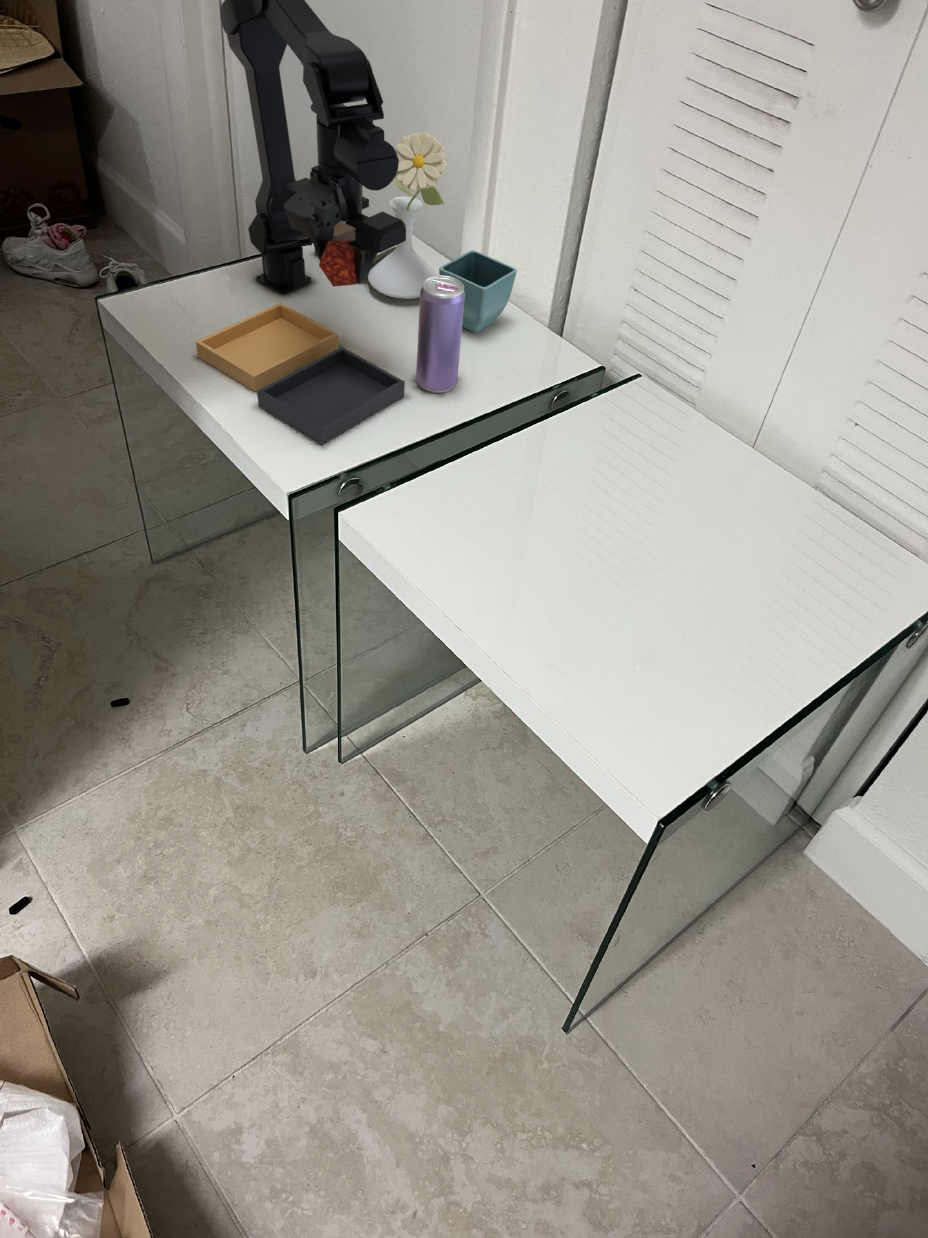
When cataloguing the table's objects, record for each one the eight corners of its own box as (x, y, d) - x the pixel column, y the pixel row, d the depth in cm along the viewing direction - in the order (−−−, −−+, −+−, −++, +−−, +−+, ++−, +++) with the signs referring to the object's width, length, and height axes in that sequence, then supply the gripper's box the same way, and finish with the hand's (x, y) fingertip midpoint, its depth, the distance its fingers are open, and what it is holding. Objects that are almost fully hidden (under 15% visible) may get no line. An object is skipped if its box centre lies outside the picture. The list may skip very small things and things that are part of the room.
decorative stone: (358, 287, 137) (370, 291, 130) (313, 283, 135) (322, 286, 128) (361, 240, 135) (373, 241, 128) (314, 235, 133) (324, 236, 126)
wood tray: (197, 356, 136) (195, 341, 134) (281, 317, 145) (280, 302, 143) (255, 392, 131) (254, 376, 129) (338, 348, 140) (338, 333, 138)
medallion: (394, 244, 149) (397, 249, 150) (402, 247, 157) (404, 251, 157) (351, 269, 151) (353, 273, 151) (360, 270, 159) (362, 274, 159)
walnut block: (314, 254, 159) (313, 225, 156) (335, 245, 162) (335, 216, 158) (336, 265, 157) (335, 236, 154) (356, 256, 160) (356, 227, 156)
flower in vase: (353, 286, 153) (352, 121, 134) (401, 264, 159) (406, 104, 141) (412, 317, 148) (419, 151, 129) (460, 293, 154) (473, 131, 136)
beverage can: (452, 397, 134) (460, 299, 123) (411, 390, 134) (416, 292, 123) (460, 375, 138) (469, 278, 127) (421, 368, 138) (426, 271, 127)
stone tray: (258, 406, 129) (256, 390, 127) (342, 361, 138) (342, 346, 136) (321, 445, 124) (321, 429, 122) (404, 396, 133) (404, 381, 131)
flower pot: (512, 322, 149) (518, 268, 143) (479, 343, 144) (485, 288, 138) (467, 302, 153) (472, 248, 146) (434, 322, 147) (437, 267, 141)
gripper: (242, 153, 120) (253, 269, 132) (349, 200, 113) (351, 319, 125) (305, 131, 127) (310, 244, 138) (410, 175, 120) (406, 291, 131)
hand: (342, 274), depth 133 cm, fingers closed on decorative stone, 6 cm apart
